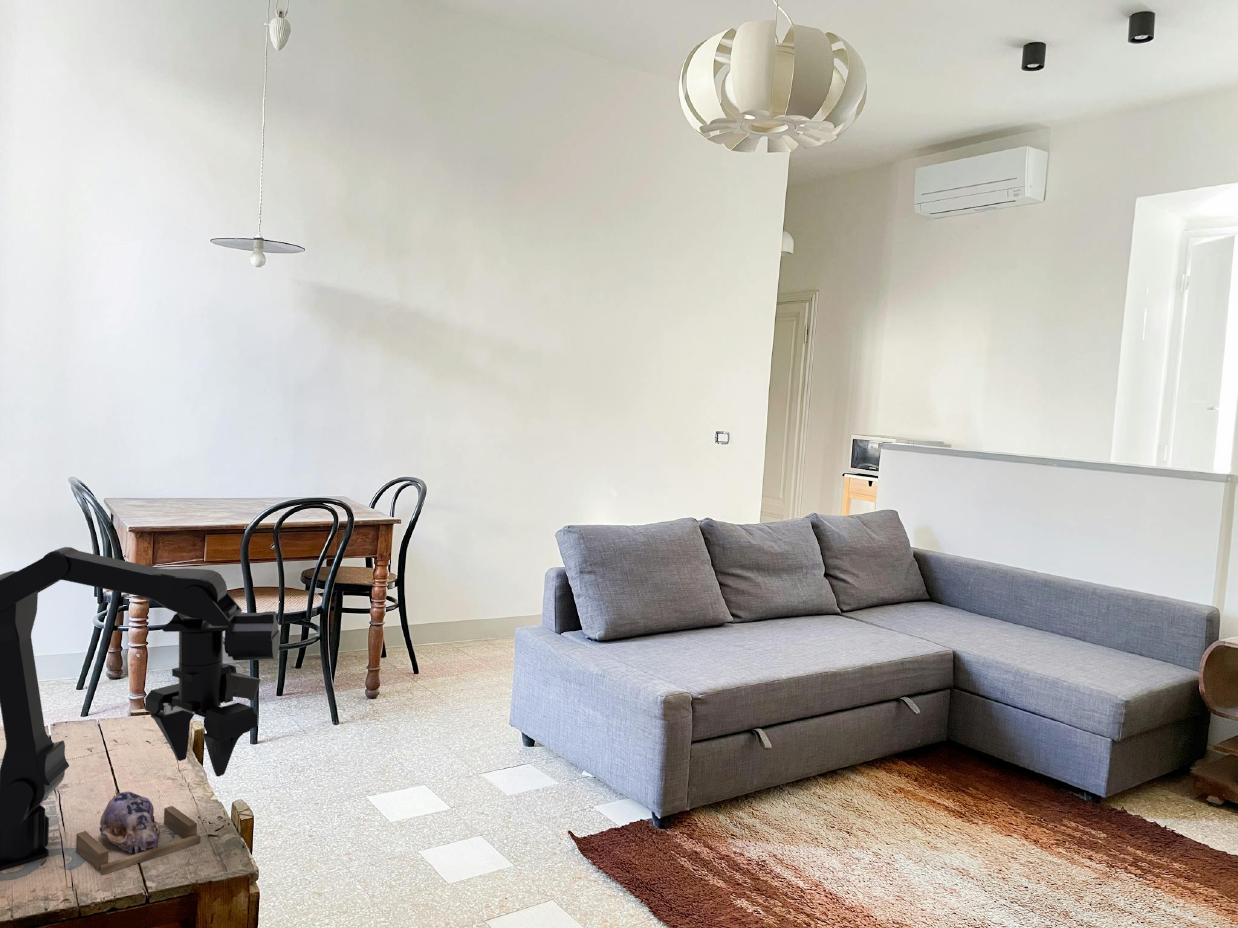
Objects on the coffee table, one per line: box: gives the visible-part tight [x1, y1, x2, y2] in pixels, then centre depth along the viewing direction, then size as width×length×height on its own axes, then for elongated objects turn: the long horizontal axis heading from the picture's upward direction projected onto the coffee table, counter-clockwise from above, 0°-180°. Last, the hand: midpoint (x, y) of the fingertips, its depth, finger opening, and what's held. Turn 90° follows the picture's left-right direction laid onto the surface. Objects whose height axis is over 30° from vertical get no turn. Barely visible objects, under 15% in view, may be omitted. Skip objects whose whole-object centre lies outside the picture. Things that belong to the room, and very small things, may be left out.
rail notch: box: [75, 805, 201, 876], centre depth 132 cm, size 13×9×2 cm
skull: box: [99, 790, 161, 855], centre depth 133 cm, size 12×8×6 cm, turn 39°
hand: (200, 767), depth 131 cm, fingers open, 9 cm apart
